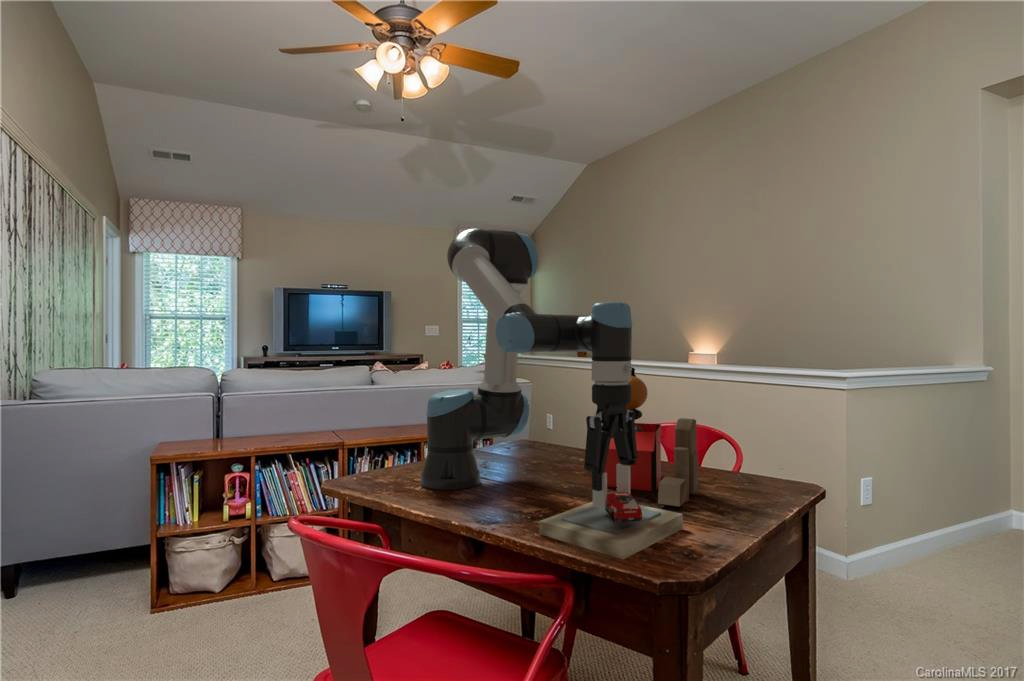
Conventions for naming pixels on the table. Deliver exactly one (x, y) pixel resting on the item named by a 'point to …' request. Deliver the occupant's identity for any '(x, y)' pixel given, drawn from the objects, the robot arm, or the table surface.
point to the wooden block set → (681, 466)
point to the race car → (623, 507)
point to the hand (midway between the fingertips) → (611, 502)
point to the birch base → (611, 529)
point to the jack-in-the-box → (639, 446)
